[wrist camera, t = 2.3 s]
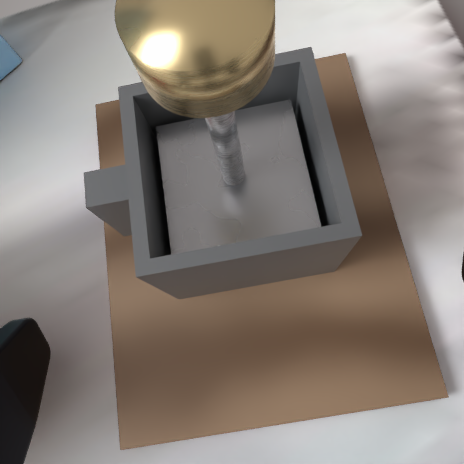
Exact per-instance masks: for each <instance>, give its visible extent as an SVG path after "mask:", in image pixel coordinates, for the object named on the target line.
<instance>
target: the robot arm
mask: <svg viewBox="0 0 464 464" xmlns="http://www.w3.org/2000/svg"><path fill="white" fill-rule="evenodd" d="M462 278H463V281H464V254H463V264H462ZM49 360H50V347H49V344H48V342H47V341H46V339H45V337H44V335H43V333H42V332H41V330H40V328H39V326H38V324H37V323H36V321H35V320H34V319H32V318H23V319H18V320H13V321H10V322H9V323H7V324H6V325H4V326H3V327H2V328H0V464H24V461H25V458H26V454H27V451H28V448H29V445H30V442H31V439H32V435H33V432H34V429H35V425H36V421H37V417H38V413H39V408H40V403H41V399H42V394H43V389H44V384H45V380H46V375H47V370H48V365H49Z"/></svg>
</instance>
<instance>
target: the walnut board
mask: <svg viewBox="0 0 464 464" xmlns="http://www.w3.org/2000/svg"><path fill="white" fill-rule="evenodd" d="M315 63H316V66H317V70H318V74H319V77H320V81H321V85H322V89H323V92H324V96H325V100H326V103H327V107H328V111H329V114H330V118H331V122H332V125H333V129H334V133H335V137H336V140H337V144H338V148H339V151H340V155H341V159H342V162H343V166H344V170H345V173H346V177H347V181H348V185H349V188H350V192H351V196H352V199H353V203H354V207H355V210H356V214H357V218H358V222H359V225H360V229H361V233H362V237H361V238H360V239H359V241H358V242H357V243H356V244H355V246H354V247H353V248H352V250H351V251H350V252H349V253H348V255H347V256H346V257H345V259H344V260H343V261H342V263H341V264H340V265H339V266H338V268H337V269H336V270H335V272H329V273H324V274H318V275H313V276H307V277H302V278H296V279H290V280H285V281H279V282H274V283H268V284H263V285H257V286H251V287H246V288H240V289H235V290H229V291H223V292H218V293H212V294H207V295H201V296H196V297H190V298H184V299H177V298H175V297H173V296H171V295H169V294H167V293H165V292H163V291H162V290H160V289H158V288H156V287H154V286H152V285H150V284H148V283H146V282H144V281H142V280H140V279H139V278H137V277H136V274H135V264H134V253H133V242H132V235H129V236H123V235H122V234H120V233H119V232H118V231H116V230H115V229H114V228H112V227H111V226H110V225H108V224H107V223H106V222H104V230H105V244H106V257H107V271H108V285H109V299H110V313H111V327H112V341H113V355H114V368H115V382H116V396H117V410H118V424H119V438H120V450H124V449H130V448H137V447H143V446H149V445H155V444H161V443H168V442H174V441H180V440H186V439H193V438H199V437H205V436H211V435H217V434H224V433H230V432H236V431H242V430H248V429H255V428H261V427H267V426H273V425H280V424H286V423H292V422H298V421H304V420H311V419H317V418H323V417H329V416H335V415H342V414H348V413H354V412H360V411H367V410H373V409H379V408H385V407H391V406H398V405H404V404H410V403H416V402H422V401H429V400H435V399H441V398H447V397H448V393H447V390H446V387H445V383H444V380H443V377H442V373H441V370H440V367H439V363H438V360H437V357H436V353H435V350H434V347H433V343H432V340H431V337H430V333H429V330H428V327H427V323H426V320H425V317H424V313H423V310H422V307H421V303H420V300H419V297H418V293H417V290H416V287H415V283H414V280H413V277H412V273H411V270H410V267H409V263H408V260H407V257H406V253H405V250H404V247H403V243H402V240H401V237H400V233H399V230H398V227H397V223H396V220H395V217H394V213H393V210H392V207H391V203H390V200H389V197H388V193H387V190H386V187H385V183H384V180H383V177H382V173H381V170H380V167H379V163H378V160H377V157H376V153H375V150H374V147H373V143H372V140H371V137H370V133H369V130H368V127H367V123H366V120H365V117H364V113H363V110H362V107H361V103H360V100H359V97H358V93H357V90H356V87H355V83H354V80H353V77H352V73H351V70H350V67H349V63H348V60H347V57H346V53H343V54H338V55H333V56H328V57H324V58H319V59H315ZM96 119H97V133H98V146H99V160H100V169H105V168H110V167H115V166H120V165H125V156H124V145H123V134H122V124H121V113H120V102H119V100H115V101H111V102H106V103H101V104H96Z"/></svg>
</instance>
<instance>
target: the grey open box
mask: <svg viewBox="0 0 464 464" xmlns="http://www.w3.org/2000/svg"><path fill="white" fill-rule="evenodd" d="M118 91H119V102H120V113H121V124H122V134H123V145H124V156H125V165H120V166H115V167H110V168H105V169H100V170H95V171H90V172H85V173H84V182H85V199H86V208H87V209H88V210H90V211H91V212H92V213H94V214H95V215H96V216H98V217H99V218H100V219H102V220H103V221H104V222H106V223H107V224H108V225H110V226H111V227H112V228H114V229H115V230H116V231H118V232H119V233H120V234H122V235H123V236H129V235H132V242H133V253H134V264H135V274H136V277H137V278H139V279H140V280H142V281H144V282H146V283H148V284H150V285H152V286H154V287H156V288H158V289H160V290H162V291H163V292H165V293H167V294H169V295H171V296H173V297H175V298H177V299H184V298H190V297H196V296H201V295H207V294H212V293H218V292H223V291H229V290H235V289H240V288H246V287H251V286H257V285H263V284H268V283H274V282H279V281H285V280H290V279H296V278H302V277H307V276H313V275H318V274H324V273H329V272H335V270H336V269H337V268H338V266H339V265H340V264H341V263H342V261H343V260H344V259H345V257H346V256H347V255H348V253H349V252H350V251H351V250H352V248H353V247H354V246H355V244H356V243H357V242H358V241H359V239H360V238H361V237H362V233H361V229H360V225H359V222H358V218H357V214H356V210H355V207H354V203H353V199H352V196H351V192H350V188H349V185H348V181H347V177H346V173H345V170H344V166H343V162H342V159H341V155H340V151H339V148H338V144H337V140H336V137H335V133H334V129H333V125H332V122H331V118H330V114H329V111H328V107H327V103H326V100H325V96H324V92H323V89H322V85H321V81H320V77H319V74H318V70H317V66H316V63H315V59H314V55H313V52H312V48H311V47H308V48H303V49H299V50H294V51H289V52H284V53H279V54H275V61H274V67H273V70H272V73H271V76H270V78H269V80H268V82H267V83H266V85H265V86H264V88H263V89H262V90H261V92H260V93H259V94H258V95H257V96H256V97H255V98H254V99H252V100H251V101H250V102H249V103H247V104H246V105H244V106H243V107H241V108H239V109H237V110H240V109H245V108H250V107H255V106H260V105H265V104H270V103H275V102H280V101H285V100H290V99H291V102H292V106H293V111H294V115H295V119H296V123H297V127H298V131H299V136H300V140H301V144H302V148H303V152H304V156H305V160H306V165H307V169H308V173H309V177H310V181H311V185H312V190H313V194H314V198H315V202H316V206H317V210H318V214H319V219H320V223H321V227H318V228H312V229H307V230H301V231H296V232H291V233H285V234H280V235H274V236H269V237H264V238H258V239H253V240H247V241H242V242H237V243H231V244H226V245H220V246H215V247H210V248H204V249H199V250H193V251H188V252H183V253H177V254H172V255H171V247H170V239H169V231H168V222H167V214H166V206H165V198H164V189H163V181H162V173H161V165H160V157H159V148H158V140H157V132H156V126H161V125H166V124H171V123H176V122H181V121H186V120H191V119H196V118H190V117H185V116H181V115H178V114H175V113H172V112H170V111H168V110H166V109H165V108H163V107H162V106H160V105H159V104H158V103H157V102H156V101H155V100H154V99H153V98H152V97H151V96H150V95H149V93H148V92H147V90H146V88H145V86H144V84H143V82H140V83H135V84H131V85H126V86H121V87H118Z"/></svg>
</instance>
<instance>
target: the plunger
mask: <svg viewBox="0 0 464 464" xmlns="http://www.w3.org/2000/svg"><path fill="white" fill-rule="evenodd" d="M115 22H116V27H117V30H118V33H119V36H120V38H121V40H122V42H123V44H124V46H125V48H126V50H127V52H128V54H129V56H130V58H131V60H132V62H133V64H134V66H135V68H136V70H137V72H138V74H139V76H140V78H141V80H142V82H143V84H144V86H145V88H146V90H147V92H148V93H149V95H150V96H151V97H152V98H153V99H154V100H155V101H156V102H157V103H158V104H159V105H160V106H162V107H163V108H165V109H166V110H168V111H170V112H172V113H175V114H178V115H181V116H185V117H190V118H196V119H191V120H186V121H181V122H176V123H171V124H166V125H161V126H156V132H157V140H158V148H159V157H160V165H161V173H162V181H163V189H164V198H165V206H166V214H167V222H168V231H169V239H170V247H171V255H172V254H177V253H183V252H188V251H193V250H199V249H204V248H210V247H215V246H220V245H226V244H231V243H237V242H242V241H247V240H253V239H258V238H264V237H269V236H274V235H280V234H285V233H291V232H296V231H301V230H307V229H312V228H318V227H321V223H320V219H319V214H318V210H317V206H316V202H315V198H314V194H313V190H312V185H311V181H310V177H309V173H308V169H307V165H306V160H305V156H304V152H303V148H302V144H301V140H300V136H299V131H298V127H297V123H296V119H295V115H294V111H293V106H292V102H291V99H290V100H285V101H280V102H275V103H270V104H265V105H260V106H255V107H250V108H245V109H240V110H237V109H239V108H241V107H243V106H244V105H246V104H247V103H249V102H250V101H251V100H252V99H254V98H255V97H256V96H257V95H258V94H259V93H260V92H261V90H262V89H263V88H264V86H265V85H266V83H267V82H268V80H269V78H270V76H271V73H272V70H273V67H274V61H275V0H117V1H116V6H115Z"/></svg>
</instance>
